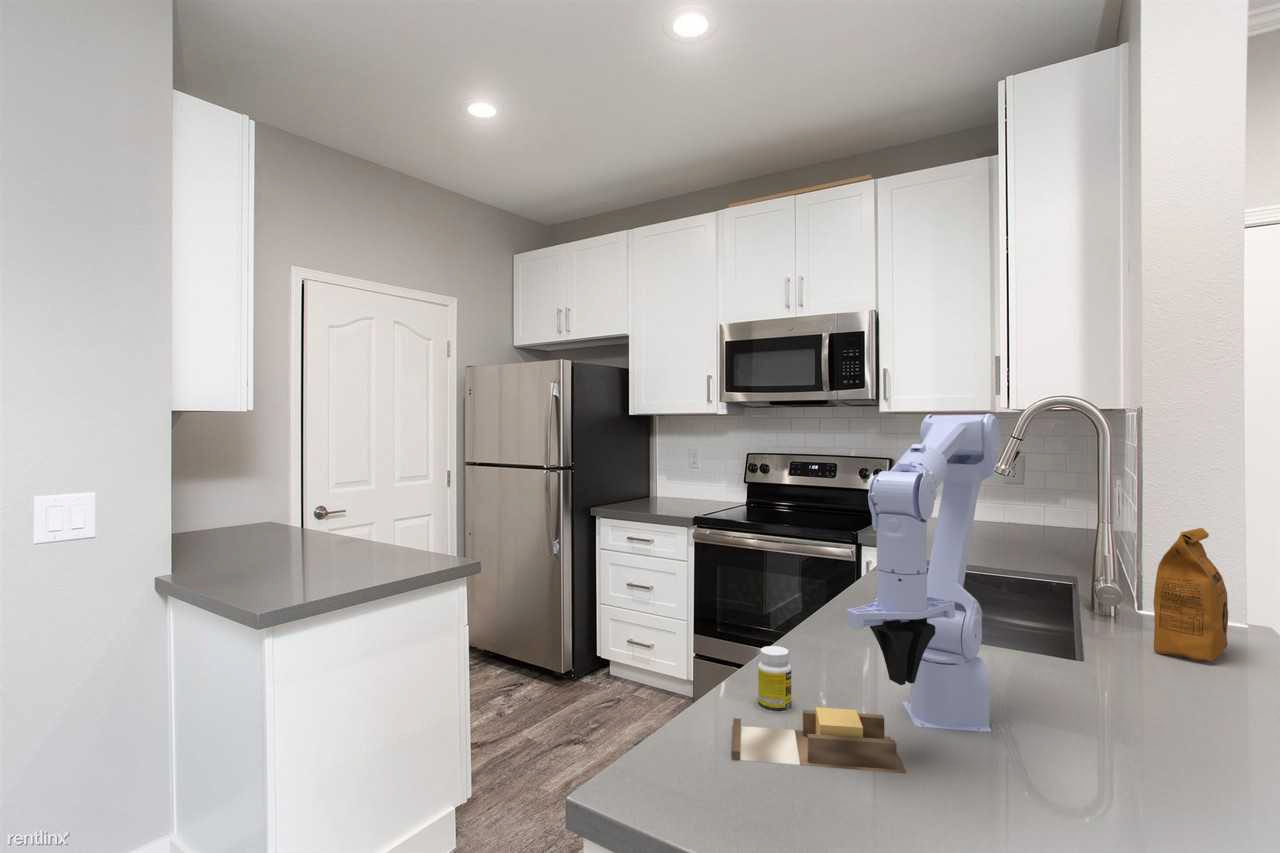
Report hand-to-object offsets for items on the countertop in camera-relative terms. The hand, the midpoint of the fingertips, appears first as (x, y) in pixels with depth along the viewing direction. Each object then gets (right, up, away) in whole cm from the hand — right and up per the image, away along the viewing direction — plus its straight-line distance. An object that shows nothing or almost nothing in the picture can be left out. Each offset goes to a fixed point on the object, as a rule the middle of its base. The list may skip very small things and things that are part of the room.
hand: (902, 681), depth 80 cm
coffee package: (+66, -10, +37) cm, 76 cm away
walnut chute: (-10, -9, +2) cm, 14 cm away
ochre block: (-7, -9, +1) cm, 12 cm away
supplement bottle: (-13, -10, +14) cm, 21 cm away
